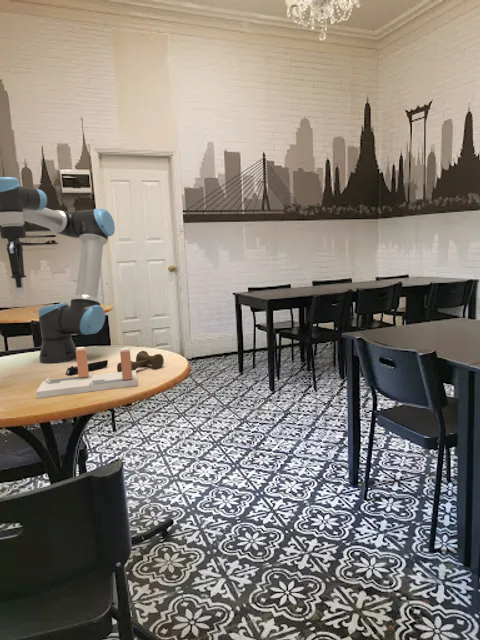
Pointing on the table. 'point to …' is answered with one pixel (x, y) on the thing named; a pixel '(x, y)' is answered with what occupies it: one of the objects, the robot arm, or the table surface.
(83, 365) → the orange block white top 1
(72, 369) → the electric trimmer
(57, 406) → the table surface
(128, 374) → the orange rectangular block
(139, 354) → the kendama
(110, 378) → the white fixture board
